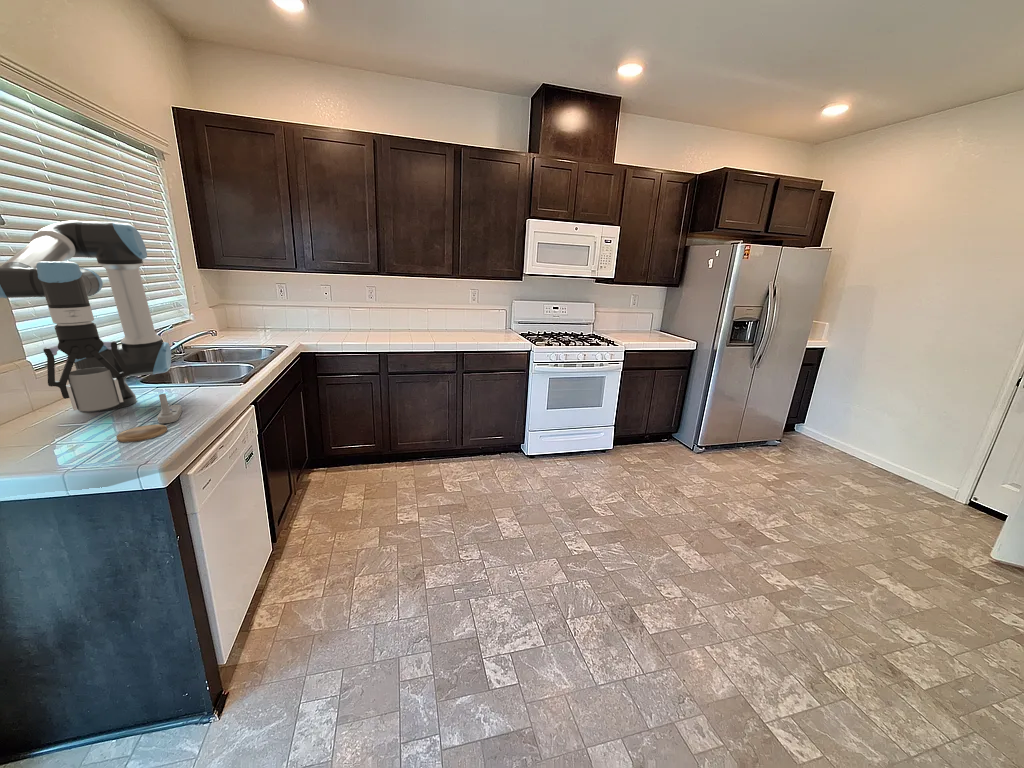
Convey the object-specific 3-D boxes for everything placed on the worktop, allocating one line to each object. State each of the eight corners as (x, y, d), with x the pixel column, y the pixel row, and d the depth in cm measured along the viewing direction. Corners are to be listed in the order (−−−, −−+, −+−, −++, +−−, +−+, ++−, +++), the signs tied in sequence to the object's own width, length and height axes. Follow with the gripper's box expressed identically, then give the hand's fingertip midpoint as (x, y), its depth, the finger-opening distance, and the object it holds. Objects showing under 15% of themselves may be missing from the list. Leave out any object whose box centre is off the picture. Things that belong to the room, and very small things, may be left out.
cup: (123, 399, 119) (114, 366, 116) (114, 408, 112) (104, 373, 109) (84, 403, 115) (73, 369, 112) (71, 413, 108) (60, 376, 105)
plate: (114, 434, 129) (113, 431, 128) (163, 423, 137) (162, 421, 137) (119, 445, 121) (119, 442, 121) (171, 434, 130) (170, 431, 129)
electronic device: (177, 385, 148) (170, 395, 136) (183, 410, 151) (177, 422, 139) (158, 387, 146) (150, 397, 133) (165, 413, 148) (157, 425, 136)
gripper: (11, 329, 96) (42, 418, 103) (131, 321, 112) (151, 399, 118) (12, 325, 101) (41, 410, 108) (127, 317, 116) (146, 393, 123)
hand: (98, 404), depth 113 cm, fingers closed on cup, 8 cm apart
